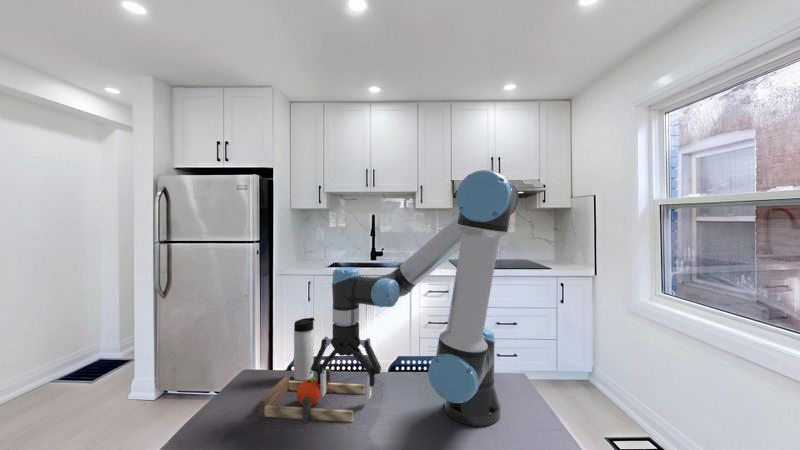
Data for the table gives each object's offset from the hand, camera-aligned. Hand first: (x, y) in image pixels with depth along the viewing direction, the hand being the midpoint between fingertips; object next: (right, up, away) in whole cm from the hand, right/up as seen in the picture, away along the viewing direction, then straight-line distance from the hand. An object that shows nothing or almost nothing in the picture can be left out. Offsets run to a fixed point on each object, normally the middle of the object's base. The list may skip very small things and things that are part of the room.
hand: (346, 395), depth 100 cm
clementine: (-10, -3, +1) cm, 11 cm away
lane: (-9, -2, 0) cm, 9 cm away
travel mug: (-17, -3, +16) cm, 23 cm away
